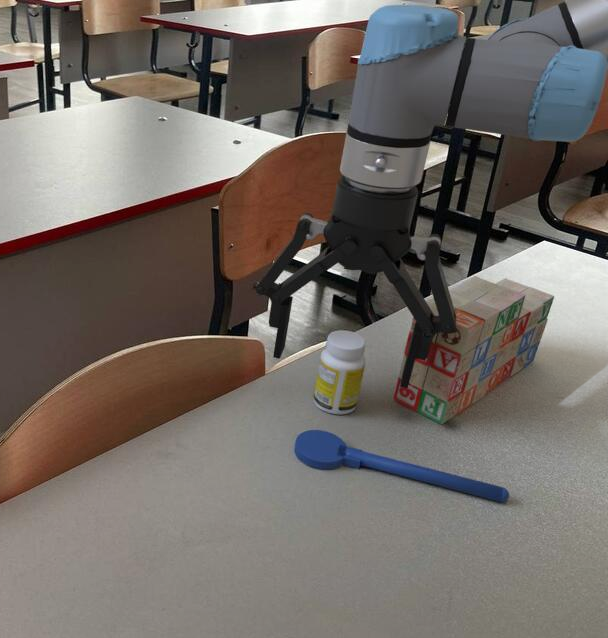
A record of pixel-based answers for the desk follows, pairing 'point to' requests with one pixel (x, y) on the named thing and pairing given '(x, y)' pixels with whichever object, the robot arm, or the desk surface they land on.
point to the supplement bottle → (340, 372)
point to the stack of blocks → (476, 346)
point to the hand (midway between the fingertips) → (340, 366)
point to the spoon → (383, 464)
